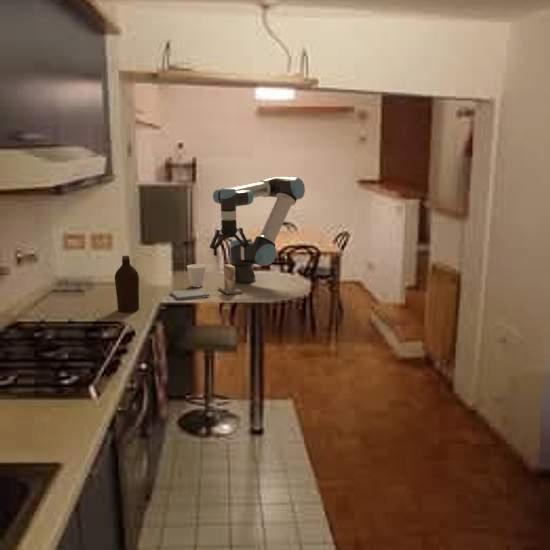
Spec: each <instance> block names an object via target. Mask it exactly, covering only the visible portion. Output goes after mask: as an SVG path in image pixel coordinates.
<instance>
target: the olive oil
mask: <svg viewBox="0 0 550 550" xmlns="http://www.w3.org/2000/svg"><path fill="white" fill-rule="evenodd" d="M121 257H122V259H121V263H122V264H121V265H120V267H119V268H118V269H117V270H116V272H115V274H114V283H115V284H114V285H115V294H116V302H117V311H118V312H120V313H134V311H135V312H137V310H138V311H139V310H140V289H139V288H140V284H139V283H140V275H139V272H138V271H137V269H135V267H133V266H132V264H131V259H130V256H129V255H122V256H121Z"/></svg>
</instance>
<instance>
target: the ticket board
mask: <svg viewBox="0 0 550 550" xmlns="http://www.w3.org/2000/svg"><path fill="white" fill-rule="evenodd" d="M169 293H171V294H172V295H173V296H174V297H175V299H176V300H177V301H185V300H194V298H195V299H198V298H197V297H203V296H209V297H210V294H209V292H207V291H206V290H204V289H203V288H202V287H198V288H190V289H189V288H188V289H180V290H171V291H170V292H169ZM171 294H170V295H171ZM172 295H171V296H172ZM173 296H172V297H173ZM174 297H173V298H174Z"/></svg>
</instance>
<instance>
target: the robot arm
mask: <svg viewBox="0 0 550 550" xmlns="http://www.w3.org/2000/svg"><path fill="white" fill-rule="evenodd" d="M305 192H306V187H305V183H304V181H303V180H302V179H301V178H300V177H295V176H292V177H291V176H290V177H289V176H288V177H287V176H274V177H271V178H266V179H261V180H260V181H258V182H255V183H250V184H245V185H240V186H234V187H222V188H218V189H215V190H214V191H213V193H212V198H213V201H214V203H216V204H220V219H221V223H220V224H221V228H220V229H215V231H214V232H215V233H214V236H213V238H212V240H211V243H210V244H209V248H210V249H212V250H213V255H214V256H215V262H216V263H217V264H218V263H219V262H220V255H219V253H220V252H219V247H220V246H221V244H222V242H223V241H224V240H225V239H229V238H234V239H233V240H231V241H230V247H229V248H230V249H229V250H230V251H229V252H230V265H232V266H234V267H235V284H247V283H252V282H255V281H256V274H255V272H254V271H255V270H254V268H253V265H257V266H269V265H271V264H273V262H274V261H275V260H276V256H277V248H276V239H277V238H278V236H279V233H280V230H281V228H282V226H283V225H284V222H285V220H286V218H287V216H288V214H289V211H290V209H291V207H292V206H295V205H296V203H297V201H298V200H301V199H303V197H304V196H305ZM259 197H263V198H267V197H269V198H276V200H275V203H274V204H273V207H272V209H271V211H270V213H269V215H268V218H267V219H266V222H265V224H264V226H263V228H262V231H261V232H260V234H259V235H256V237H255V238H254V241H253V239H252V238H250V237H249V238H248V237H246V235H245V233H244V229H243V228H242V227H239V228H238V227H237V207H241V206H248V205H251V204H252V203H253V201H254V199H255V198H259ZM237 233H239V235H240V237H241V238H240V237H239V236H238V235H237ZM219 236H220V238H219ZM218 238H219V239H218Z"/></svg>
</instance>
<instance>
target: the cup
mask: <svg viewBox="0 0 550 550" xmlns="http://www.w3.org/2000/svg"><path fill="white" fill-rule="evenodd" d="M186 268H187V273H188V274H187V275H188V277H189V283H190V287H192V286H193V287H192V288H195V287H197V288H199V287H198V286H202V285H204V284H203V283H204V279H205V278H204V277H205V271H206V265H205V264H199V263H196V264H193V263H192V264H188V265H186ZM202 287H203V286H202Z"/></svg>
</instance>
